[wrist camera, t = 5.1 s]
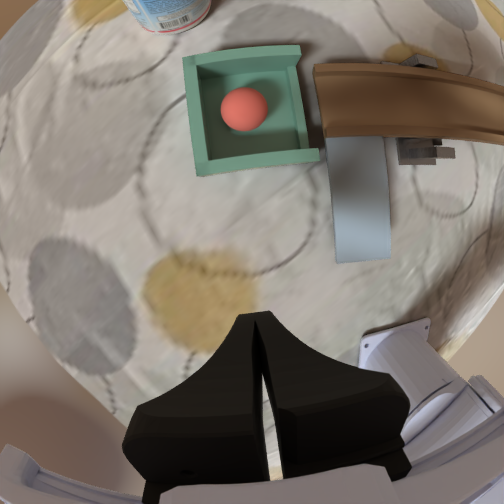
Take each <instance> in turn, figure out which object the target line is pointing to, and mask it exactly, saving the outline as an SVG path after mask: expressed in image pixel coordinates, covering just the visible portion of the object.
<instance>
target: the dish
mask: <svg viewBox="0 0 504 504" xmlns="http://www.w3.org/2000/svg"><path fill="white" fill-rule="evenodd" d="M301 55H302V54H301V50H300V45H276V46H259V47H247V48H237V49H229V50H222V51H215V52H209V53H203V54H197V55H192V56H187V57H182V59H183V70H184V80H185V90H186V99H187V107H188V116H189V124H190V132H191V139H192V147H193V154H194V161H195V168H196V175H197V176H198V177H205V176H211V175H217V174H223V173H230V172H236V171H243V170H251V169H258V168H267V167H275V166H284V165H294V164H304V163H311V162H316V161H320V156H319V149H318V148H310V149H309V142H308V135H307V128H306V122H305V116H304V110H303V104H302V98H301V93H300V87H299V82H298V77H297V72H296V67H295V66H296V64H297V63H298V61H299V59H300V57H301ZM241 87H248V88H252V89H255V90H257V91H258V92H260V93H261V94H262V95H263V96H264V98H265V100H266V102H267V105H268V113H267V116H266V119H265V120H264V122H263V123H262V124H261V125H260V126H259V127H257V128H256V129H253V130H250V131H238V130H235V129H233V128H231V127H229V126H228V125H227V124H226V123H225V121H224V120H223V118H222V115H221V104H222V101H223V99H224V97H225V96H226V95H227V94H228V93H229V92H231V91H232V90H234V89H237V88H241Z"/></svg>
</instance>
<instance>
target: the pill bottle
mask: <svg viewBox="0 0 504 504" xmlns="http://www.w3.org/2000/svg"><path fill="white" fill-rule="evenodd" d="M123 2H124V3H125V5H126V6H127V7H128V9H129V10H130V11H131V13H132V14H133V16H134V17H135V18H136V20H137V21H138V22H139V24H140V25H141V26H142V27H143V28H144V29H145V30H146V31H148V32H150V33H152V34H157V35H172V34H177V33H180V32H184V31H186V30H188V29H190V28H192V27H194V26H196V25H197V24H198V23H199V22H201V21H202V20H203V19H204V17H205V16H206V15H207V13H208V11H209V9H210V6H211V0H123Z"/></svg>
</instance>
